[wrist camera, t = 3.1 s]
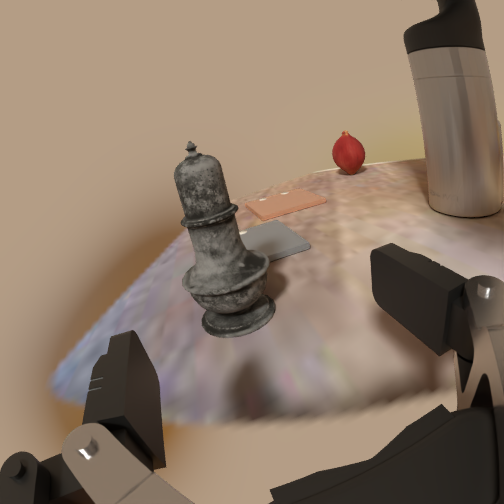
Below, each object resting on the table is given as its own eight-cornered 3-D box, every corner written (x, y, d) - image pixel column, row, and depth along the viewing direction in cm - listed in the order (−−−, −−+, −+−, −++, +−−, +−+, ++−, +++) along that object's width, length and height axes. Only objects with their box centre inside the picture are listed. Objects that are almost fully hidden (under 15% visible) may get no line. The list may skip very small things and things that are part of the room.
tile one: (278, 224, 38) (277, 219, 38) (310, 248, 30) (309, 242, 29) (204, 247, 36) (202, 242, 36) (216, 279, 28) (214, 272, 28)
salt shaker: (192, 308, 24) (142, 155, 20) (263, 283, 26) (225, 131, 21) (206, 351, 19) (139, 156, 15) (293, 319, 20) (251, 126, 16)
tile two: (299, 191, 50) (299, 188, 50) (326, 202, 42) (325, 197, 42) (245, 207, 49) (244, 203, 48) (262, 220, 40) (261, 216, 40)
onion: (333, 174, 57) (325, 132, 54) (362, 169, 56) (355, 127, 53) (340, 180, 52) (331, 133, 49) (371, 174, 51) (364, 128, 48)
